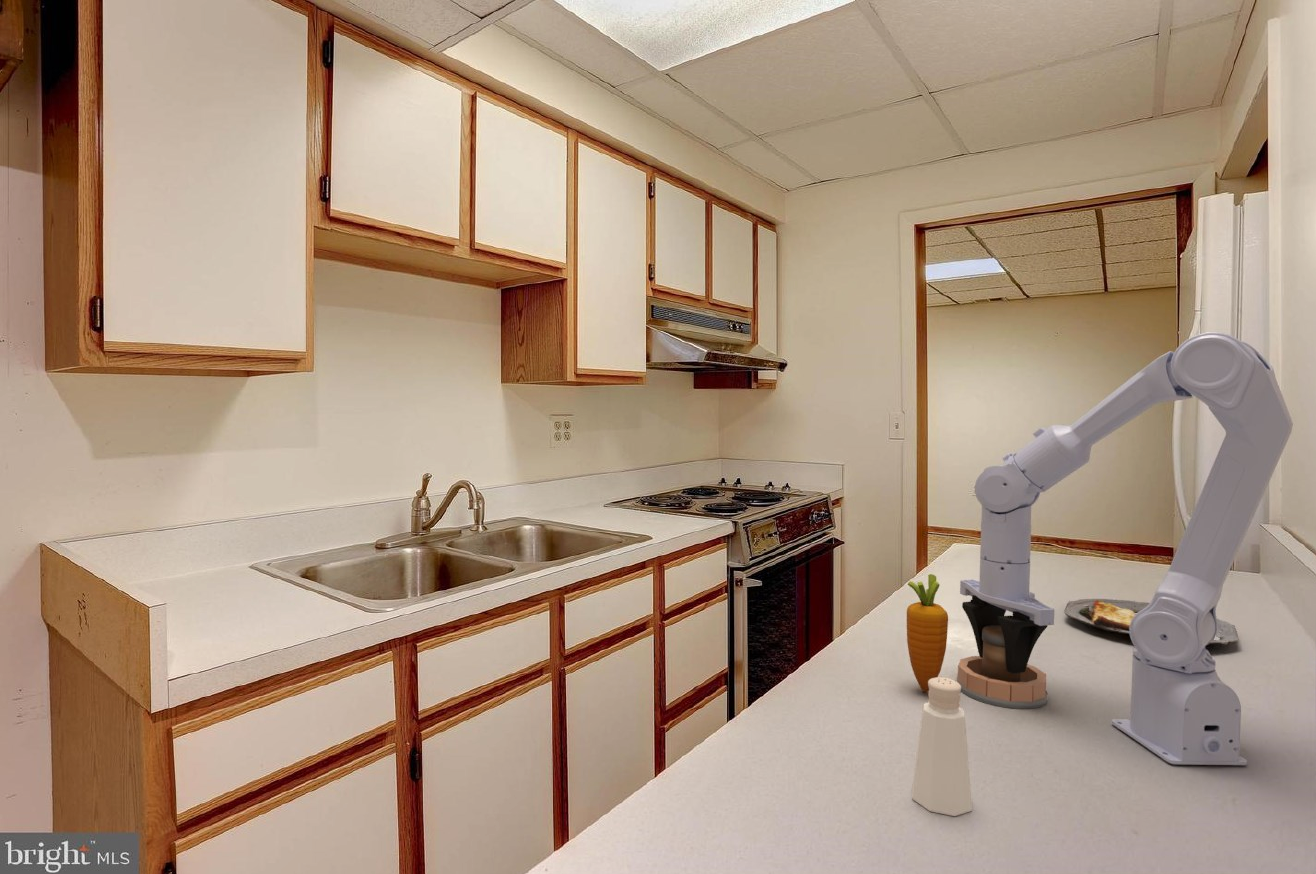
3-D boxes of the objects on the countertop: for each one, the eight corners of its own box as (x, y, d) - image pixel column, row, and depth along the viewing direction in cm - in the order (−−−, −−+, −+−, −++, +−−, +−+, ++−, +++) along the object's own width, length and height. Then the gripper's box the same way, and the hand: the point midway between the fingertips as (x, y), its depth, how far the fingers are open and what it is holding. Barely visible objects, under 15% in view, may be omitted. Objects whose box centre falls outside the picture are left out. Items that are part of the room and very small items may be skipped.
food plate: (1243, 666, 98) (1243, 641, 98) (1056, 634, 112) (1056, 613, 112) (1231, 628, 118) (1232, 607, 118) (1074, 605, 132) (1074, 587, 132)
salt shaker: (956, 783, 66) (959, 670, 65) (985, 816, 60) (989, 694, 60) (900, 784, 65) (903, 670, 65) (924, 817, 60) (927, 694, 60)
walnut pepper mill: (1030, 682, 86) (1031, 635, 86) (998, 685, 85) (999, 638, 85) (1003, 668, 91) (1005, 624, 90) (972, 671, 90) (974, 626, 89)
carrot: (920, 702, 84) (923, 581, 84) (896, 686, 89) (899, 572, 89) (955, 698, 86) (958, 579, 85) (929, 683, 90) (932, 570, 90)
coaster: (1065, 709, 83) (1066, 686, 83) (979, 708, 83) (980, 685, 83) (1019, 676, 93) (1020, 656, 93) (943, 675, 93) (944, 655, 93)
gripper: (1077, 571, 81) (1073, 684, 81) (992, 547, 95) (989, 643, 96) (1026, 573, 79) (1023, 688, 80) (947, 548, 94) (945, 646, 94)
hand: (1001, 664), depth 88 cm, fingers closed on walnut pepper mill, 5 cm apart
